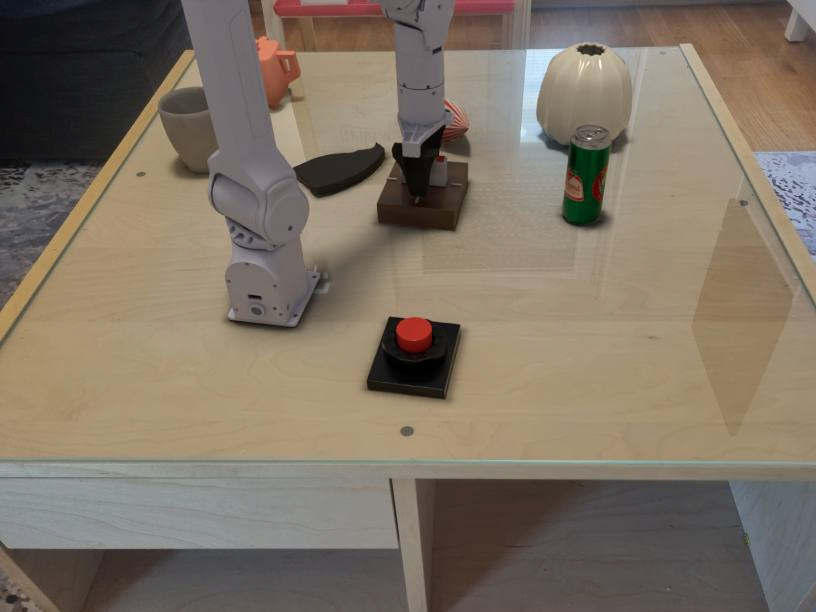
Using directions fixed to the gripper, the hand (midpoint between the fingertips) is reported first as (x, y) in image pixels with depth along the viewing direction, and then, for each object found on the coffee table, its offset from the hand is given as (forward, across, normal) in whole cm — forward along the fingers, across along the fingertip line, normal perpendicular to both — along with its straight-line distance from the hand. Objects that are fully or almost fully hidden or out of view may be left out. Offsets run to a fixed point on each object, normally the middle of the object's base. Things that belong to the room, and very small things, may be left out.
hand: (424, 179), depth 99 cm
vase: (+4, +22, -20) cm, 30 cm away
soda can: (+4, 0, -21) cm, 21 cm away
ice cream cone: (+4, +20, +2) cm, 20 cm away
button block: (+3, -30, -5) cm, 31 cm away
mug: (+4, +6, +34) cm, 35 cm away
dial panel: (+3, 0, 0) cm, 3 cm away
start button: (+1, -30, -5) cm, 30 cm away
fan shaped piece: (+4, +5, +13) cm, 14 cm away
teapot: (+4, +26, +33) cm, 42 cm away
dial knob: (0, 0, 0) cm, 0 cm away
